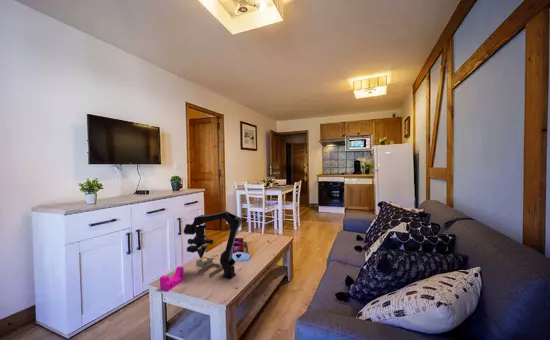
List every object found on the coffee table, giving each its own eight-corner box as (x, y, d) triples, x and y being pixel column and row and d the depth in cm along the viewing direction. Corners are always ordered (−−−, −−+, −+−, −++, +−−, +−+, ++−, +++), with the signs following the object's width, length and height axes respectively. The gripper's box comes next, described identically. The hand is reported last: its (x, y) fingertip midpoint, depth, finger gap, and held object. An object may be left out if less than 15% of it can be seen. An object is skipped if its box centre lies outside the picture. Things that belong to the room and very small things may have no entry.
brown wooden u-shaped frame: (224, 268, 156) (224, 265, 155) (210, 277, 144) (210, 273, 144) (213, 265, 161) (212, 262, 161) (198, 273, 149) (198, 270, 149)
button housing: (212, 263, 165) (212, 258, 165) (204, 267, 158) (204, 263, 158) (204, 261, 169) (204, 256, 169) (196, 265, 162) (196, 260, 162)
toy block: (168, 291, 129) (168, 279, 129) (160, 290, 131) (159, 277, 131) (186, 279, 143) (186, 267, 143) (179, 277, 145) (178, 266, 145)
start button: (208, 262, 164) (208, 258, 164) (204, 264, 161) (204, 260, 161) (204, 261, 166) (204, 257, 166) (200, 263, 163) (200, 259, 163)
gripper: (201, 229, 160) (202, 251, 160) (180, 237, 143) (180, 261, 144) (213, 231, 155) (214, 253, 156) (192, 239, 138) (193, 264, 139)
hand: (201, 257), depth 149 cm, fingers closed
